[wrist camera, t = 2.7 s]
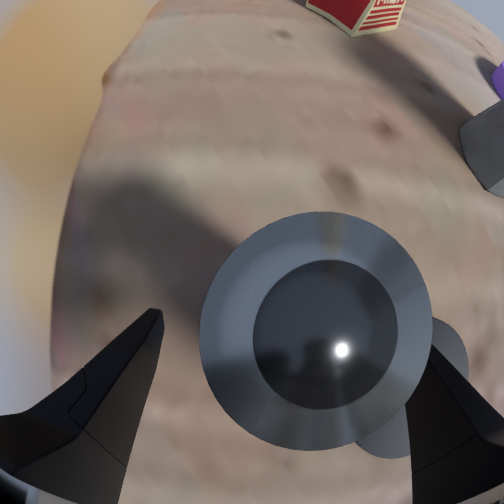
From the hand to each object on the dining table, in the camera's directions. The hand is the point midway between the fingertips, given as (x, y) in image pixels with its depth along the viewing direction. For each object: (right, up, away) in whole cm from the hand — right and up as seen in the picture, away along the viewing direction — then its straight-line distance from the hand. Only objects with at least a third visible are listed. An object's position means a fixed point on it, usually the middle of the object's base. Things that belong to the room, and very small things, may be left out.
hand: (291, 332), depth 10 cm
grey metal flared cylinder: (0, -1, +8) cm, 8 cm away
